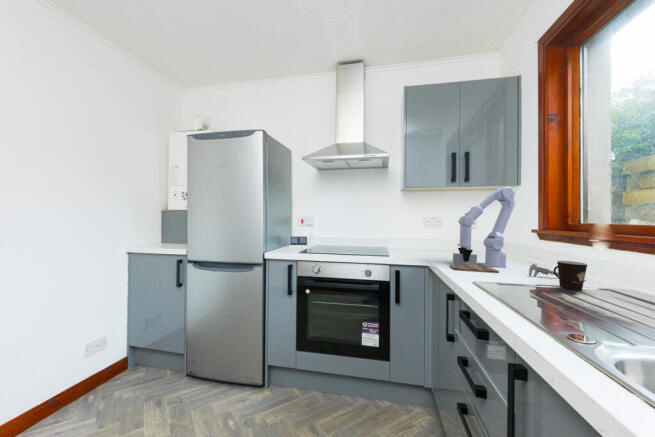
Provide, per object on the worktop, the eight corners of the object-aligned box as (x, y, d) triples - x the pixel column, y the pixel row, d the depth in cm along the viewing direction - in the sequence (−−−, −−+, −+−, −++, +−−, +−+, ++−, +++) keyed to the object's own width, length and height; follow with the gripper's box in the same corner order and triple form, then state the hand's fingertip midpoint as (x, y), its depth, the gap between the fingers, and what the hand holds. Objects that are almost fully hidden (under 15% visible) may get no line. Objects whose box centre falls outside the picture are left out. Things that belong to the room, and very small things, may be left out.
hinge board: (490, 268, 140) (491, 262, 140) (498, 272, 130) (499, 266, 130) (449, 266, 144) (449, 260, 144) (454, 270, 134) (454, 263, 134)
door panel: (475, 265, 151) (475, 254, 151) (476, 265, 149) (477, 255, 149) (452, 263, 154) (453, 253, 154) (453, 264, 152) (453, 253, 152)
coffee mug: (577, 286, 107) (578, 261, 107) (592, 292, 98) (593, 265, 98) (542, 283, 110) (543, 259, 110) (554, 289, 102) (555, 263, 101)
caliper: (529, 276, 125) (530, 263, 125) (528, 276, 126) (529, 262, 126) (586, 282, 117) (587, 267, 117) (585, 281, 118) (585, 267, 118)
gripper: (454, 235, 159) (453, 258, 159) (461, 237, 145) (460, 262, 145) (467, 236, 158) (466, 259, 158) (475, 238, 144) (474, 263, 144)
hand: (464, 261), depth 151 cm, fingers open, 5 cm apart
